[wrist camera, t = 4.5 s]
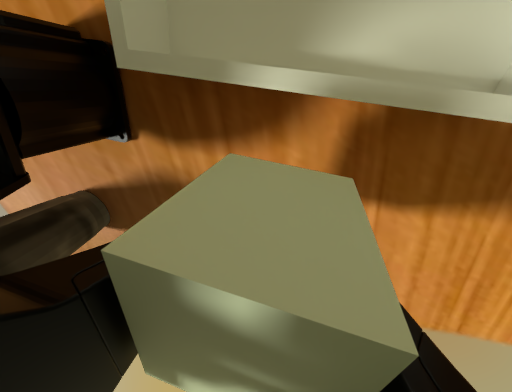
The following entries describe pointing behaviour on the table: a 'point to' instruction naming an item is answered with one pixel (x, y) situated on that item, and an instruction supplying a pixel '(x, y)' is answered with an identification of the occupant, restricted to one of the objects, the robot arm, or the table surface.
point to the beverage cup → (49, 230)
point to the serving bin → (331, 48)
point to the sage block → (261, 285)
